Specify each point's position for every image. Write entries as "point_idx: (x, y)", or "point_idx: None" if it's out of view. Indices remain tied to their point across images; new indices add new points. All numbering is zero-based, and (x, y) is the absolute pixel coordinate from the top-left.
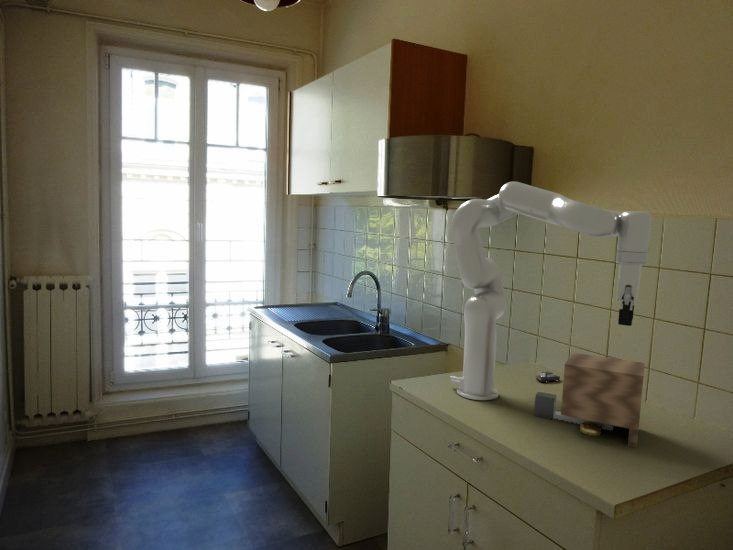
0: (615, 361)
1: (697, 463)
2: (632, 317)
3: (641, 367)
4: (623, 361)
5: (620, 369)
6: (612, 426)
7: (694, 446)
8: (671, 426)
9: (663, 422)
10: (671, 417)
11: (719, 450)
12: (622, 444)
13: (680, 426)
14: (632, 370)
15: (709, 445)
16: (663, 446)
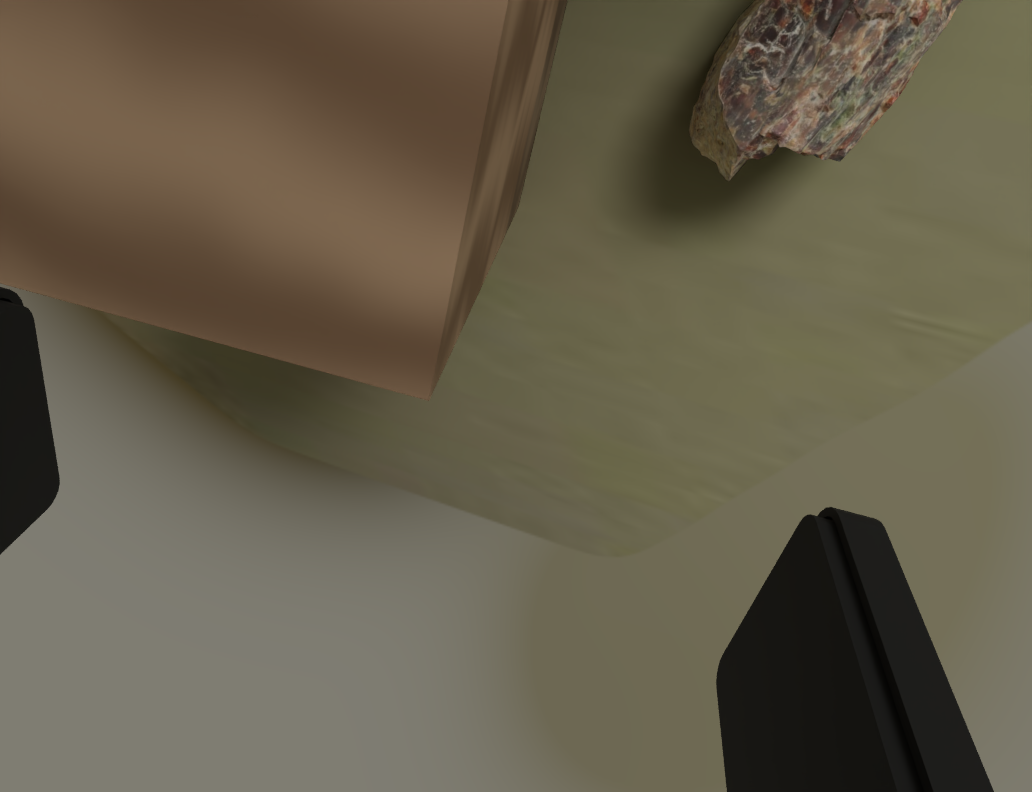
0: (342, 118)
1: (205, 342)
2: (721, 710)
3: (235, 326)
4: (388, 210)
5: (20, 101)
6: None
7: (386, 391)
8: (611, 377)
9: (660, 358)
10: (750, 418)
11: (386, 465)
12: None
13: (624, 416)
14: (66, 216)
15: (425, 449)
16: None
